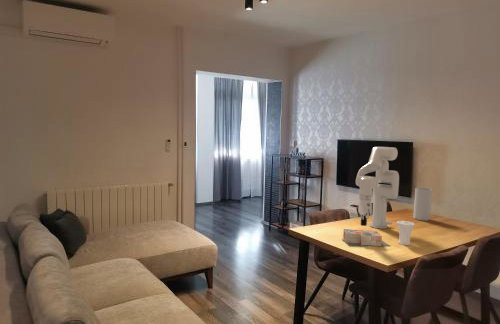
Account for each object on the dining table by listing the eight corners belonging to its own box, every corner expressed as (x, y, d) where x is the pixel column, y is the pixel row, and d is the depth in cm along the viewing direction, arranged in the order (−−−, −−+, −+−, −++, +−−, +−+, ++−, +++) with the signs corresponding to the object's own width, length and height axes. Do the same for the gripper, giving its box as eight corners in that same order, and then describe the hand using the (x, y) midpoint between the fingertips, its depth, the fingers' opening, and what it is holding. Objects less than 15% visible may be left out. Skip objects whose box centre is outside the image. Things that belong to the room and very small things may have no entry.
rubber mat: (379, 239, 240) (379, 239, 240) (390, 246, 227) (390, 245, 227) (341, 239, 236) (341, 239, 236) (350, 246, 223) (350, 246, 223)
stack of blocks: (342, 238, 239) (345, 244, 227) (343, 228, 239) (346, 234, 227) (376, 240, 237) (381, 246, 225) (377, 230, 237) (382, 236, 224)
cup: (415, 246, 227) (416, 225, 226) (397, 245, 229) (398, 224, 227) (410, 241, 237) (412, 221, 236) (393, 240, 239) (395, 220, 238)
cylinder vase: (411, 219, 300) (414, 188, 298) (414, 216, 311) (417, 187, 308) (428, 221, 293) (431, 190, 291) (431, 218, 304) (433, 189, 301)
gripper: (376, 199, 226) (374, 228, 228) (365, 195, 241) (364, 222, 243) (364, 199, 225) (363, 228, 227) (354, 194, 240) (353, 222, 242)
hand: (363, 225), depth 235 cm, fingers closed
